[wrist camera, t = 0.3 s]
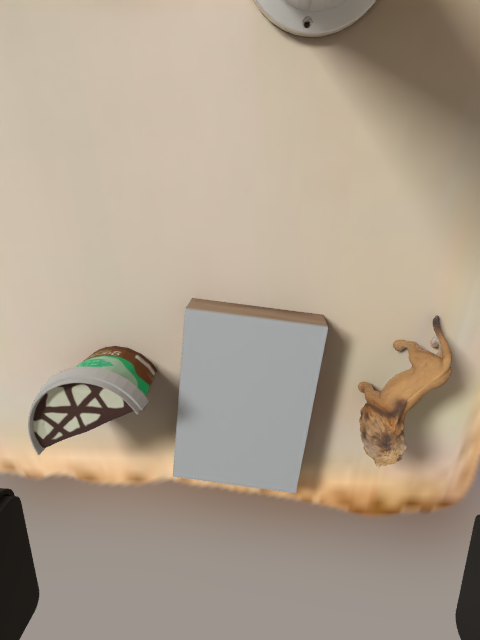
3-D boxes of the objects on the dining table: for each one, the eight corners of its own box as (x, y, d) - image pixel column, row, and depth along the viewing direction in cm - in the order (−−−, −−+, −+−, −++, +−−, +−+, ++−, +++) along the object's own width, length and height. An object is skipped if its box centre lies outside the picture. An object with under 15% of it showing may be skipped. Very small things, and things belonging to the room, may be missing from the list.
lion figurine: (378, 430, 48) (401, 484, 40) (338, 410, 48) (353, 461, 39) (455, 324, 44) (501, 360, 35) (412, 301, 43) (447, 332, 35)
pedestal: (192, 298, 44) (185, 309, 41) (323, 314, 44) (328, 327, 40) (179, 454, 51) (172, 476, 47) (293, 469, 51) (295, 493, 47)
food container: (141, 318, 46) (107, 355, 36) (168, 365, 47) (142, 412, 38) (50, 360, 48) (-4, 405, 39) (78, 404, 50) (33, 457, 40)
